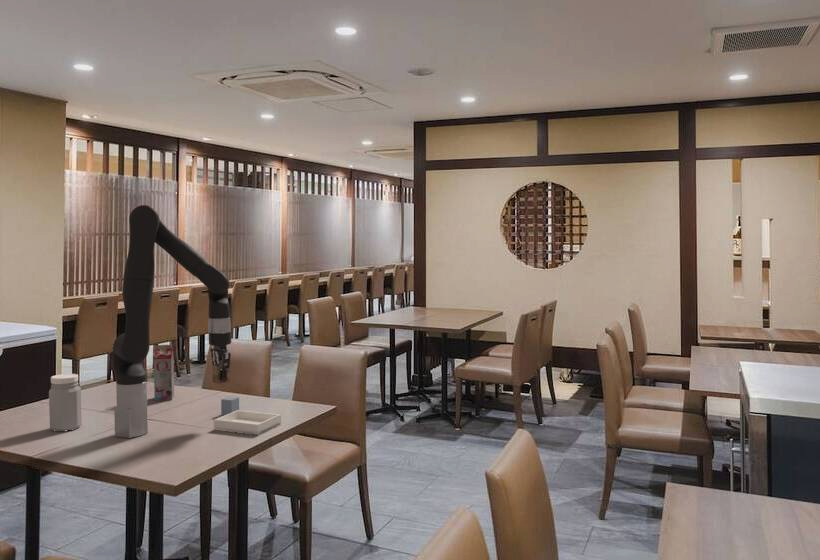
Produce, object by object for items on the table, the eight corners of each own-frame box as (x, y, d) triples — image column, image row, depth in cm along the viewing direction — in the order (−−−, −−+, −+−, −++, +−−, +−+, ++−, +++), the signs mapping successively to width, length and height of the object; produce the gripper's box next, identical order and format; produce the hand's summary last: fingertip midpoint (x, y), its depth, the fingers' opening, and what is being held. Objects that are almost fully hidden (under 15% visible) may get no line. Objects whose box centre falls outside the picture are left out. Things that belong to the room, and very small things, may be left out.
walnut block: (217, 383, 218) (216, 366, 218) (212, 381, 222) (212, 364, 222) (229, 382, 221) (229, 365, 221) (225, 379, 225) (224, 363, 224)
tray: (258, 435, 209) (258, 424, 208) (214, 429, 215) (213, 419, 215) (280, 424, 221) (280, 414, 221) (238, 419, 227) (238, 410, 227)
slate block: (231, 416, 232) (231, 400, 232) (221, 415, 234) (221, 399, 233) (239, 413, 236) (238, 397, 236) (229, 412, 238) (228, 396, 237)
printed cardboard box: (172, 400, 257) (171, 345, 256) (154, 401, 255) (153, 346, 254) (174, 396, 263) (173, 343, 262) (157, 397, 262) (156, 344, 260)
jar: (65, 433, 210) (64, 379, 209) (42, 431, 213) (41, 377, 212) (88, 425, 220) (87, 374, 219) (66, 423, 223) (64, 372, 222)
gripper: (202, 329, 224) (203, 377, 225) (215, 334, 212) (217, 384, 213) (223, 327, 228) (224, 374, 229) (237, 332, 217) (239, 381, 218)
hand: (221, 379), depth 221 cm, fingers closed on walnut block, 4 cm apart
